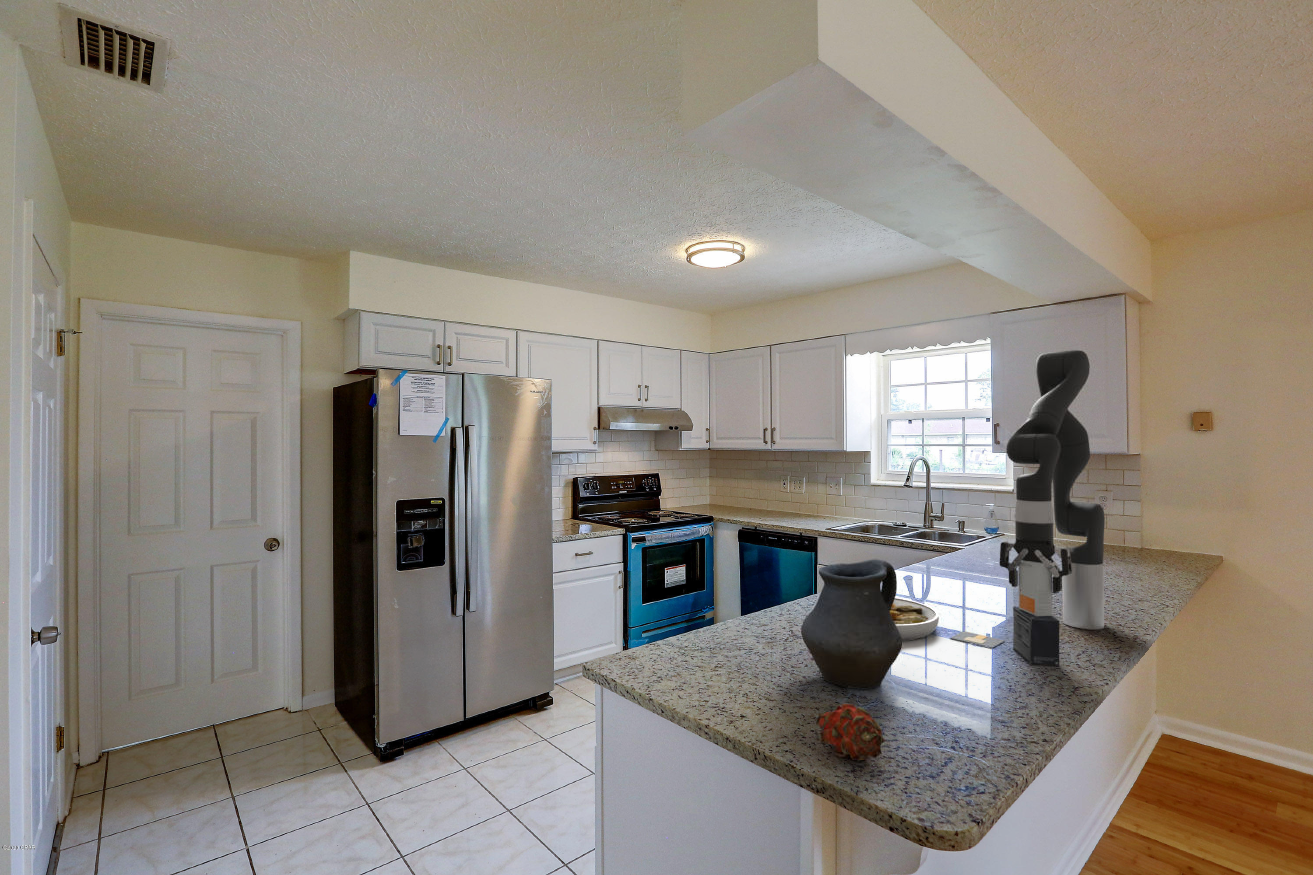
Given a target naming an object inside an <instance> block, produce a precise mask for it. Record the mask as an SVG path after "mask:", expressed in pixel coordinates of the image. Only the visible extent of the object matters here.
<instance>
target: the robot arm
mask: <svg viewBox="0 0 1313 875" xmlns="http://www.w3.org/2000/svg"><path fill="white" fill-rule="evenodd" d="M1088 357H1089V356H1088V355H1087V353H1086V352H1084V351H1083V350H1078V349H1075V350H1074V349H1072V350H1064V351H1063V350H1062V351H1061V350H1060V351H1055V352H1053V351H1052V352H1046V353H1042V354H1040V355H1038V356H1037V359H1036V362H1035V364H1036V365H1035V371H1036V372H1035V373H1036V379H1037V384H1038V389H1039V395H1040V398H1038V399H1037V400H1036V401H1035V403H1034V404H1033V406H1031V409H1030V411H1029V414H1028V416H1027V418H1026V421H1025V422H1024V423H1022V424H1021V426H1019V427H1018V429H1016V430H1015V431H1014V432H1013V433H1012V434H1011V436H1010V437H1009V439H1008V441H1007V444H1006V448H1005V449H1006V456H1007V457H1008V459H1009V460H1010V461H1011V462H1012V463H1015V464H1021V465H1039V467H1038V469H1037V470H1036V471H1035V472H1032V473H1026V474H1021V475H1018V476H1017V478H1016V481H1015V488H1016V489H1015V490H1016V492H1015V493H1016V494H1015V495H1016V497H1015V499H1016V501H1015V507H1014V509H1015V510H1014V512H1015V513H1014V520H1015V521H1014V522H1015V523H1014V524H1015V525H1014V526H1015V532H1014V533H1015V540H1014V542H1009V541H1008V540H1005V541H1002V542H1001V543H1000V548H999V566H1000V567H1001V568H1005V569H1006V570H1007V571H1008V582H1009V583H1008V584H1010V585H1011V587H1012V588H1016V587H1019V569H1018V568H1019V564H1020V562H1021V561H1022V560H1023V561H1030V562H1038V563H1043V564H1044V565H1045V566H1046V568H1047V569H1049V570H1050V571H1051V573H1052V594H1059V593H1060V591H1062V624H1064V625H1067V626H1070V627H1073V628H1078V629H1083V630H1103V629H1105V598H1104V596H1105V595H1104V592H1105V591H1104V590H1105V588H1104V584H1105V583H1104V577H1105V576H1104V549H1105V548H1104V540H1105V536H1104V535H1105V524H1106V520H1105V519H1106V518H1105V511H1104V508H1103V506H1102V505H1101V504H1099V503H1093V502H1081V501H1080V502H1077V501H1071V490H1072V487H1073V486H1074V483H1075V482H1076V480H1077V479H1078V478H1079V476H1080V475H1081V473H1082V472H1083V471H1084V470H1085V468H1086V466H1087V464H1088V463H1089V461H1090V458H1091V450H1090V449H1091V448H1090V441H1089V435H1088V431H1087V429H1086V427H1084V426H1083V424H1082V423H1081V422H1080V421H1079V420H1078V418H1076V417H1075V415H1073V413H1072V412H1071V411H1070V410H1069V407H1070V406H1071V405H1072V403H1073V402H1074V400H1075V399H1076V397H1077V396H1078V395H1079V394H1080V392H1081V391H1082V389H1083V387H1085V384H1086V383H1087V381H1088V378H1089V375H1090V360H1089V358H1088ZM1052 488H1053V489H1052ZM1052 490H1053V493H1052ZM1052 494H1053V497H1052ZM1052 500H1053V502H1052ZM1052 503H1053V504H1052ZM1054 523H1055V527H1056V530H1057V532H1058V533H1059V534H1061V535H1064V536H1065V535H1066V536H1073V537H1085V538H1086V541H1085V543H1082V544H1081V545H1077V546H1072V547H1066V546H1065V547H1056V546H1055V544H1054ZM1013 549H1014V551H1015V552H1016V553H1017V556H1016V557H1015V558H1014V559H1013V560H1012V561H1011V562H1010V552H1011V551H1012V550H1013ZM1055 554H1057V556H1058V557H1059V558H1060V560H1061V568H1060V567H1059V566H1058V564H1057V561H1055V559H1054V558H1053V556H1054V555H1055Z"/></svg>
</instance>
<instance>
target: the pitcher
mask: <svg viewBox="0 0 1313 875" xmlns="http://www.w3.org/2000/svg"><path fill="white" fill-rule="evenodd" d="M818 575H819V576H820V578H821V580H822V581H823V587H822V589H821V592H820V594H819V596H818V599H817V602H816V604H815V605H814V607H813V609H812V610H811V611H810V612H809V613H808V614H807V615H806V617H805V618H804V620H803V621H802V625H801V631H800V634H801V638H802V640H803V642H804V645H805V646H806V648H807V649H808V651H809V654H811V657H812V658H813V662H815V665H816V667H817V668H818V670H819V672H820V674H821V676H822V678H823V679H824V680H825V681H826V682H828V683H830V684H833V685H837V686H839V687H842V688H851V689H852V688H854V689H866V690H867V689H873V688H877V687H878V686H881V685H882V682H883V681H884V679H885V677H886V676H887V673H888V672H889V671H890V668H891V667H892V665H893V664H894V663H895V662H896V660H897V658H898V656H899V655H900V653H901V651H902V648H903V646H904V645H903V644H904V643H903V641H904V640H903V641H902V637H901V634H900V632H899V630H898V628H897V627H896V625H895V623H894V621H893V619H892V617H891V615H890V610H891V607H892V604H893V602H894V599H895V598H896V596H897V589H898V588H897V587H898V583H897V582H898V580H897V573H896V570H895V568H894V566H893V565H892V563H889V562H887V561H886V560H883V559H876V558H874V559H873V558H872V559H866V560H863V561H858V562H851V563H836V564H835V563H834V564H828V565H825V566H821V567H819V569H818Z"/></svg>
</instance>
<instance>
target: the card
mask: <svg viewBox="0 0 1313 875" xmlns="http://www.w3.org/2000/svg"><path fill="white" fill-rule="evenodd" d="M950 640H953V641H958V642H961V641H962V643H966V644H970V643H973V644H972V645H974V644H977V645H976V646H978V645H981V646H980V647H983V646H987V647H990V648H989V649H991V648H993V647H995V646H996V647H998V646H1000V645H1001V644H1000V643H1002V644H1003V643H1005V642H1006V640H1005V639H1000V638H997V637H991V636H988V635H982V634H978V633H973V632H968V631H961V632H959V633H957V634H955V635H952V636H951V637H950ZM1004 641H1005V642H1004ZM999 644H1000V645H999ZM997 645H998V646H997ZM987 647H986V648H987ZM996 647H995V648H996ZM993 649H994V648H993Z"/></svg>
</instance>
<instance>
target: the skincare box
mask: <svg viewBox="0 0 1313 875" xmlns="http://www.w3.org/2000/svg"><path fill="white" fill-rule="evenodd" d="M1018 607H1019V609H1020V610H1023V611H1026V612H1028V613H1030V614H1033V615H1035V616H1053V614H1054V613H1053V609H1054V608H1053V574H1052V573H1051V571H1050V570H1049V569H1047V568H1046V566H1045V565H1044V564H1043V563H1038V562H1030V561H1023V560H1022V561H1021V562H1020V564H1019V566H1018Z"/></svg>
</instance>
